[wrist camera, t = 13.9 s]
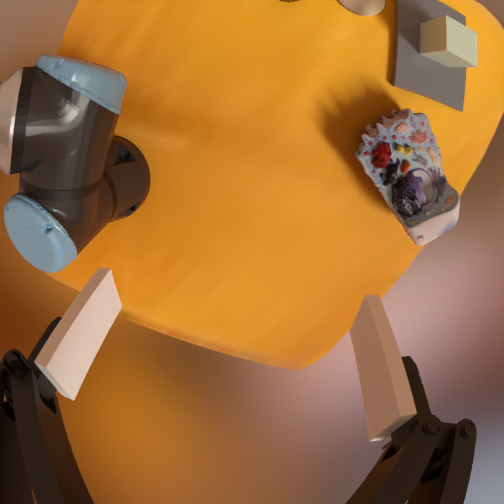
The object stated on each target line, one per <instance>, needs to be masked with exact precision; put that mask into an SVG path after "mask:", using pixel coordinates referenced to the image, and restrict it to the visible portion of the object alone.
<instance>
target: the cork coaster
mask: <svg viewBox="0 0 504 504" xmlns="http://www.w3.org/2000/svg"><path fill="white" fill-rule="evenodd" d="M338 1H339V2H340V4H341V5H342V6H343V7H345V8H346V9H347V10H349V11H351V12H353V13H355V14H357V15H361V16H373V15H376V14H378V13H380V12H381V11H382V10H383V9H384V7H385V0H338Z"/></svg>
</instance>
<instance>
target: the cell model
mask: <svg viewBox="0 0 504 504" xmlns="http://www.w3.org/2000/svg"><path fill="white" fill-rule="evenodd" d="M392 115H393V118H392V119H388V118H387V117H386V116H385V115H381V116H380V119H381V121H382V124H380V123H377V124H376V128H374V127H372V126H371V125H370V124H369V125H367V127H365V129H366V131H367V133H368V135H367V134H362V135H361V138H362V139H363V142H362V143H360V145H359V146H358V148H357V150H356V151H355V152H354V156H355V158H357V159H358V160H359V161H360V163H361V164H362V167H363V170H364V172H365V173H366V174H367V175H368V176H369V177H370V178H371V179H372V182H373V184H374V186H376V187H377V188H378V190H379V191H380V193H381V194H382V196H383V198H384V199H385V201H386V204H387V206H388V207H389V208H390V209H391V210H392V212H393V214H394V215H395V217H396V219H397V220H398V221H399V222H400V223H401V224H402V225H403V227H404V229H405V231H406V232H407V234H408V235H409V236H410V237H411V238H412V240H413V241H414V243H415V244H416V245H417V246H421V245H424V244H426V243H428V242H430V241H432V240H434V239H435V238H437V237H438V236H440V235H442V234H444V233H445V232H447V231H449V230H450V229H451V228H453V227H454V226H455V225H456V224H457V221H458V216H459V207H460V197H459V194H458V192H457V191H456V190H455V189H454V188H452V187H451V186H450V185H449V183H448V181H447V178H446V176H445V175H444V174H443V169H442V166H441V162H440V159H441V155H440V154H439V147H438V146H437V142H436V139H435V136H434V135H433V133H432V131H431V127H430V125H429V120H428V118H427V117H426V115H425V114H422V113H416V114H415V113H413V112H412V111H411V110H410V109H403V110H400V111H399V113H397V111H396V110H394V109H393V110H392Z"/></svg>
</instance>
